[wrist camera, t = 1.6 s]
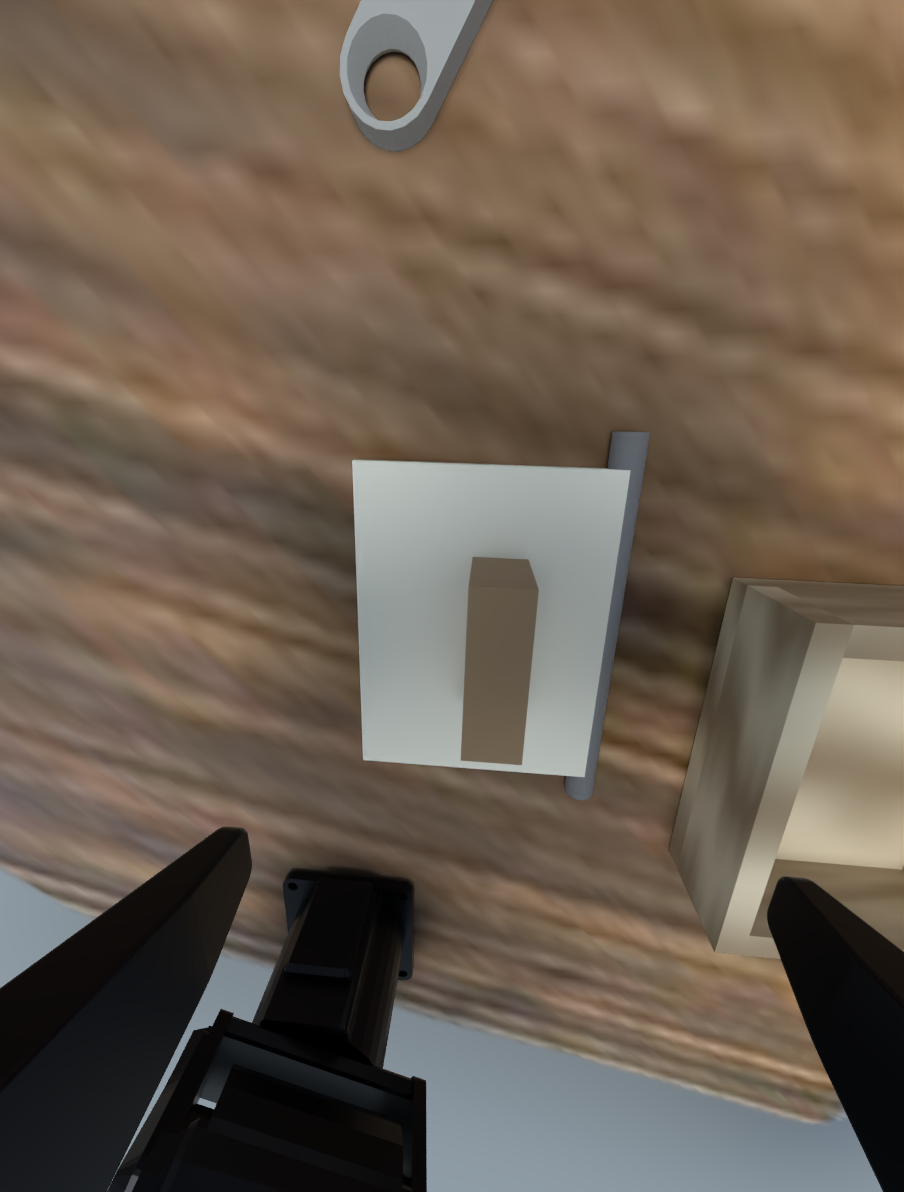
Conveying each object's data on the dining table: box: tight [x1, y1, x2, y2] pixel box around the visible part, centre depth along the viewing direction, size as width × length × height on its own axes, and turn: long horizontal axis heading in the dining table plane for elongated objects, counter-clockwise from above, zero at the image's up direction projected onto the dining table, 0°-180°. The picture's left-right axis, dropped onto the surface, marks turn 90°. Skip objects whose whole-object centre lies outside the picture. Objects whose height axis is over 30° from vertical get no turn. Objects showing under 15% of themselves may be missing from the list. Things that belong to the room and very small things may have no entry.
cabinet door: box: [352, 432, 650, 800], centre depth 16 cm, size 15×10×5 cm
